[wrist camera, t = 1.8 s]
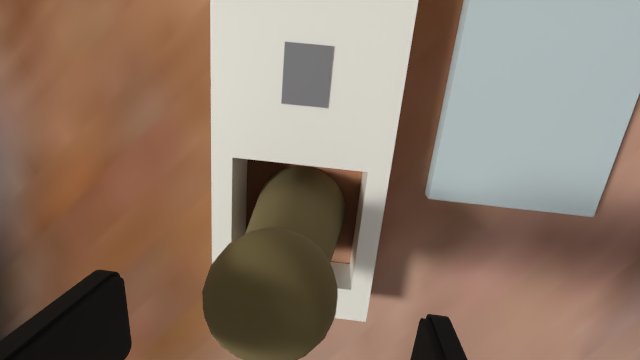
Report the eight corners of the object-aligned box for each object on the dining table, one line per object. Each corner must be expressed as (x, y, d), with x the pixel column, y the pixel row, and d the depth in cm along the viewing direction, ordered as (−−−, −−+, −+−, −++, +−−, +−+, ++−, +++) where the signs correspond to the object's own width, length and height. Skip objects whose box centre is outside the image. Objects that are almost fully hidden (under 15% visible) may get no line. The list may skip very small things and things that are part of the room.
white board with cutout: (362, 292, 22) (365, 322, 20) (228, 276, 23) (211, 303, 20) (424, -107, 16) (444, -153, 13) (232, -121, 16) (208, -169, 13)
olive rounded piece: (342, 162, 20) (344, 242, 9) (348, 246, 22) (354, 394, 11) (251, 168, 20) (156, 250, 10) (263, 249, 22) (193, 394, 12)
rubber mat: (581, 210, 20) (593, 217, 19) (424, 193, 20) (428, 199, 19) (656, 2, 16) (675, -4, 15) (466, -14, 17) (473, -20, 16)
